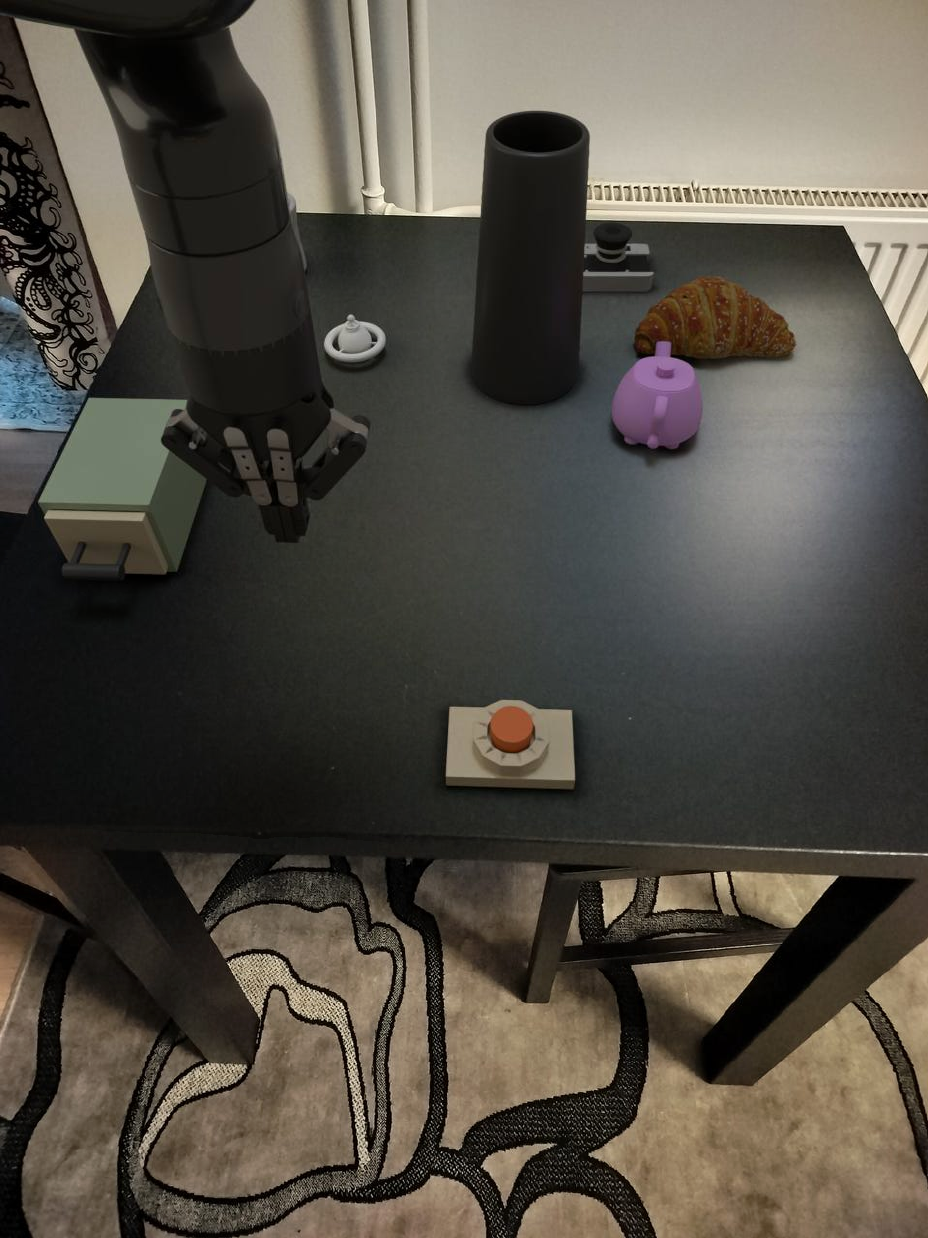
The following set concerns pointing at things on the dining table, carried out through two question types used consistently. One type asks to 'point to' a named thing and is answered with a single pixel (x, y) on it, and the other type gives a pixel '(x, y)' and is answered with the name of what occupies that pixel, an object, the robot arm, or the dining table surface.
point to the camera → (616, 262)
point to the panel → (492, 767)
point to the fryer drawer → (106, 544)
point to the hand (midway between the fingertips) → (289, 533)
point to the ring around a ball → (354, 341)
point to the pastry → (714, 323)
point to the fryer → (128, 470)
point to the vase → (531, 257)
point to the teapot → (658, 401)
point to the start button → (511, 729)
